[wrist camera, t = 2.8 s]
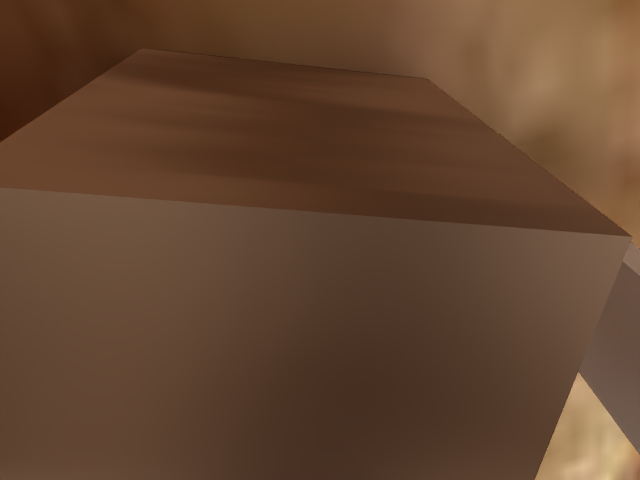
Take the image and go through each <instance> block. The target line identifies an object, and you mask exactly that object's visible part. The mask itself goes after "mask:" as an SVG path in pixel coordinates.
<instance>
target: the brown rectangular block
mask: <svg viewBox="0 0 640 480" xmlns="http://www.w3.org/2000/svg"><path fill="white" fill-rule="evenodd" d="M631 239H632V236H631V235H630V234H628V233H627V232H626V231H624V230H623V229H622V228H620V227H619V226H618V225H617V224H615V223H614V222H613V221H611V220H610V219H609V218H607V217H606V216H605V215H604V214H602V213H601V212H600V211H598V210H597V209H596V208H594V207H593V206H592V205H590V204H589V203H588V202H587V201H585V200H584V199H583V198H581V197H580V196H579V195H577V194H576V193H575V192H574V191H572V190H571V189H570V188H568V187H567V186H566V185H564V184H563V183H562V182H561V181H559V180H558V179H557V178H555V177H554V176H553V175H551V174H550V173H549V172H548V171H546V170H545V169H544V168H542V167H541V166H540V165H538V164H537V163H536V162H534V161H533V160H532V159H531V158H529V157H528V156H527V155H525V154H524V153H523V152H521V151H520V150H519V149H518V148H516V147H515V146H514V145H512V144H511V143H510V142H508V141H507V140H506V139H505V138H503V137H502V136H501V135H499V134H498V133H497V132H495V131H494V130H493V129H492V128H490V127H489V126H488V125H486V124H485V123H484V122H482V121H481V120H480V119H479V118H477V117H476V116H475V115H473V114H472V113H471V112H469V111H468V110H467V109H465V108H464V107H463V106H462V105H460V104H459V103H458V102H456V101H455V100H454V99H452V98H451V97H450V96H449V95H447V94H446V93H445V92H443V91H442V90H441V89H439V88H438V87H437V86H436V85H434V84H433V83H432V82H430V81H429V80H428V79H420V78H411V77H402V76H393V75H384V74H375V73H365V72H356V71H347V70H338V69H329V68H320V67H311V66H301V65H292V64H283V63H274V62H265V61H256V60H246V59H237V58H228V57H219V56H210V55H201V54H191V53H182V52H173V51H164V50H155V49H146V48H141V49H139V50H138V51H136V52H135V53H133V54H132V55H130V56H129V57H127V58H126V59H124V60H123V61H121V62H120V63H118V64H117V65H115V66H114V67H112V68H111V69H109V70H108V71H106V72H105V73H103V74H102V75H100V76H99V77H97V78H96V79H94V80H93V81H91V82H90V83H88V84H87V85H85V86H84V87H82V88H81V89H79V90H78V91H76V92H75V93H73V94H72V95H70V96H69V97H67V98H66V99H64V100H63V101H61V102H60V103H58V104H57V105H55V106H54V107H52V108H51V109H49V110H48V111H46V112H45V113H43V114H42V115H40V116H39V117H37V118H36V119H34V120H33V121H31V122H30V123H28V124H27V125H25V126H24V127H22V128H21V129H19V130H18V131H16V132H15V133H13V134H12V135H10V136H9V137H7V138H6V139H4V140H3V141H1V142H0V480H535V477H536V475H537V472H538V470H539V467H540V465H541V462H542V460H543V457H544V455H545V452H546V450H547V447H548V445H549V443H550V440H551V438H552V435H553V433H554V430H555V428H556V425H557V423H558V420H559V418H560V415H561V413H562V410H563V408H564V405H565V403H566V400H567V398H568V395H569V393H570V390H571V388H572V385H573V383H574V381H575V378H576V376H577V373H578V371H579V368H580V366H581V363H582V361H583V358H584V356H585V353H586V351H587V348H588V346H589V343H590V341H591V338H592V336H593V333H594V331H595V328H596V326H597V323H598V321H599V319H600V316H601V314H602V311H603V309H604V306H605V304H606V301H607V299H608V296H609V294H610V291H611V289H612V286H613V284H614V281H615V279H616V276H617V274H618V271H619V269H620V266H621V264H622V261H623V259H624V256H625V254H626V252H627V249H628V247H629V244H630V242H631Z"/></svg>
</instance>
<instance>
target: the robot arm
mask: <svg viewBox="0 0 640 480" xmlns="http://www.w3.org/2000/svg"><path fill="white" fill-rule="evenodd" d="M578 372H579V373H580V374H581V376H582V377H583V378H584V380H585V381H586V382H587V384H588V385H589V387H590V388H591V389H592V391H593V392H594V393H595V395H596V396H597V397H598V399H599V400H600V401H601V403H602V404H603V406H604V407H605V408H606V410H607V411H608V412H609V414H610V415H611V416H612V418H613V419H614V420H615V422H616V423H617V425H618V426H619V427H620V429H621V430H622V431H623V433H624V434H625V435H626V437H627V438H628V439H629V441H630V442H631V444H632V445H633V446H634V448H635V449H636V450H637V452H638V453H639V454H640V249H639V248H638V247H637V246H635V245H634V244H633V243H632V242H630V244H629V247H628V249H627V252H626V254H625V256H624V259H623V261H622V264H621V266H620V269H619V271H618V274H617V276H616V279H615V281H614V284H613V286H612V289H611V291H610V294H609V296H608V299H607V301H606V304H605V306H604V309H603V311H602V314H601V316H600V319H599V321H598V323H597V326H596V328H595V331H594V333H593V336H592V338H591V341H590V343H589V346H588V348H587V351H586V353H585V356H584V358H583V361H582V363H581V366H580V368H579V371H578Z"/></svg>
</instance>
